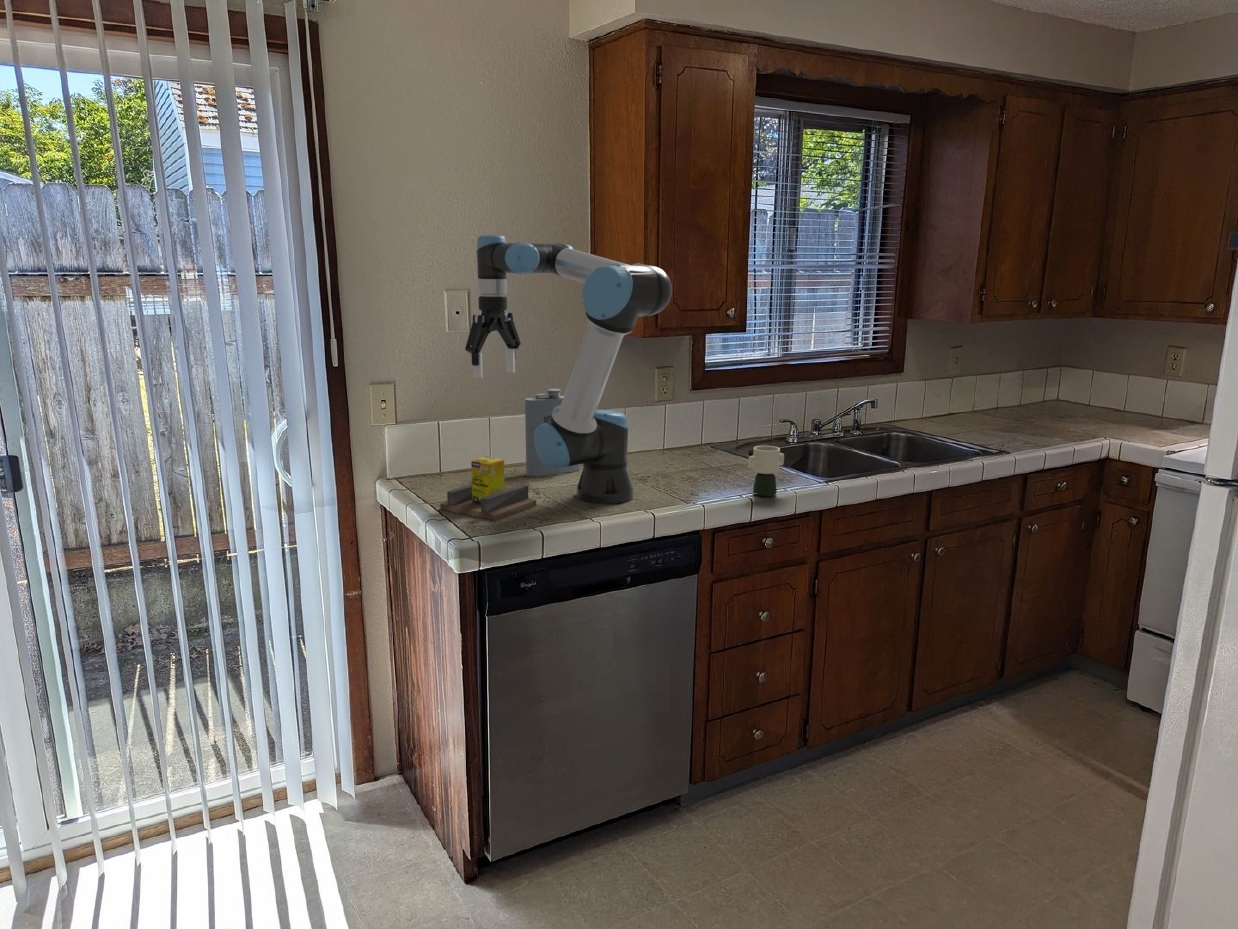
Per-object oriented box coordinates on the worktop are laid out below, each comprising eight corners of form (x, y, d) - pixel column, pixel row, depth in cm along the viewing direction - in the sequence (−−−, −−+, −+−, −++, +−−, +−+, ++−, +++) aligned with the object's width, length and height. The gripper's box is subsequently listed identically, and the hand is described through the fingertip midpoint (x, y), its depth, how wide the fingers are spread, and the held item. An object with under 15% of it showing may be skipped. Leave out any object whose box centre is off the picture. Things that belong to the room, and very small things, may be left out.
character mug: (774, 490, 237) (777, 444, 234) (789, 496, 231) (791, 449, 228) (740, 493, 233) (742, 447, 230) (753, 500, 227) (756, 452, 224)
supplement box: (471, 502, 218) (470, 460, 215) (487, 497, 222) (486, 456, 220) (489, 506, 214) (488, 463, 212) (505, 500, 219) (504, 459, 217)
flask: (531, 477, 249) (529, 391, 243) (524, 474, 253) (522, 389, 247) (584, 470, 257) (583, 387, 252) (576, 467, 261) (576, 385, 255)
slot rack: (536, 505, 221) (535, 486, 220) (495, 520, 207) (495, 500, 206) (482, 495, 230) (482, 477, 229) (440, 509, 217) (439, 490, 216)
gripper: (511, 293, 241) (512, 369, 246) (449, 296, 220) (452, 378, 225) (532, 294, 237) (533, 371, 242) (472, 297, 217) (474, 381, 221)
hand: (494, 375), depth 234 cm, fingers open, 13 cm apart
